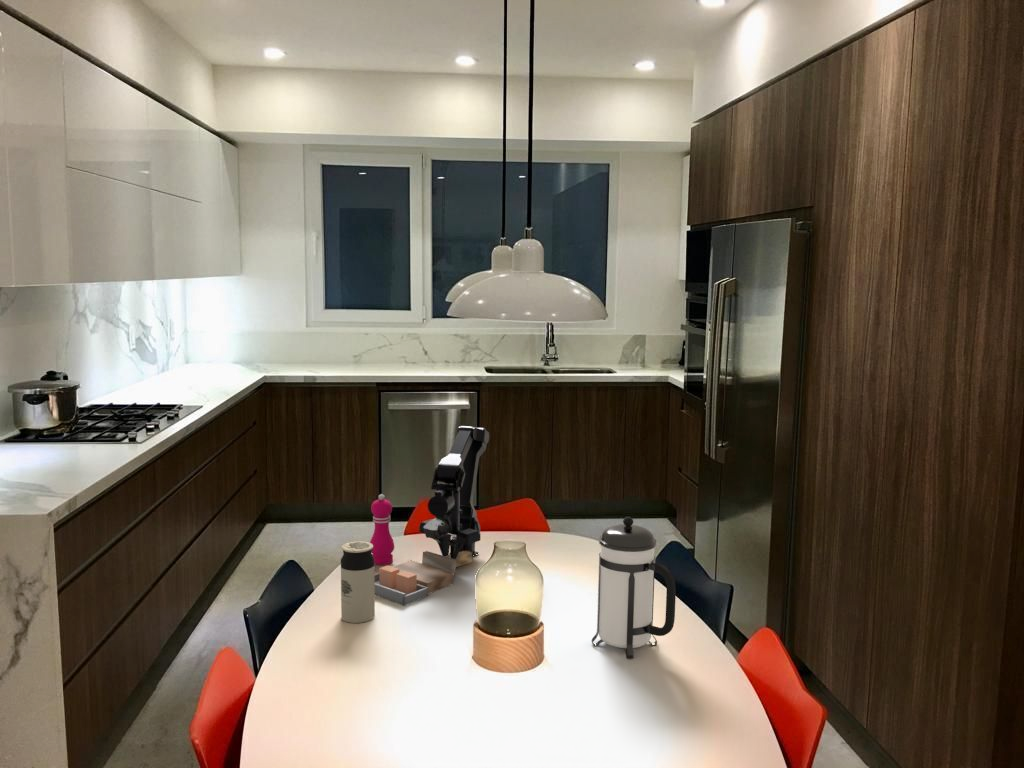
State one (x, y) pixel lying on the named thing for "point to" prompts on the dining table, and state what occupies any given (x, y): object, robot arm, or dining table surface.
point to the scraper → (446, 560)
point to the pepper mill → (382, 532)
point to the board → (427, 575)
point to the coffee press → (630, 588)
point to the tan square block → (388, 576)
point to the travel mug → (357, 582)
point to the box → (399, 593)
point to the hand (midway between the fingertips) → (449, 561)
